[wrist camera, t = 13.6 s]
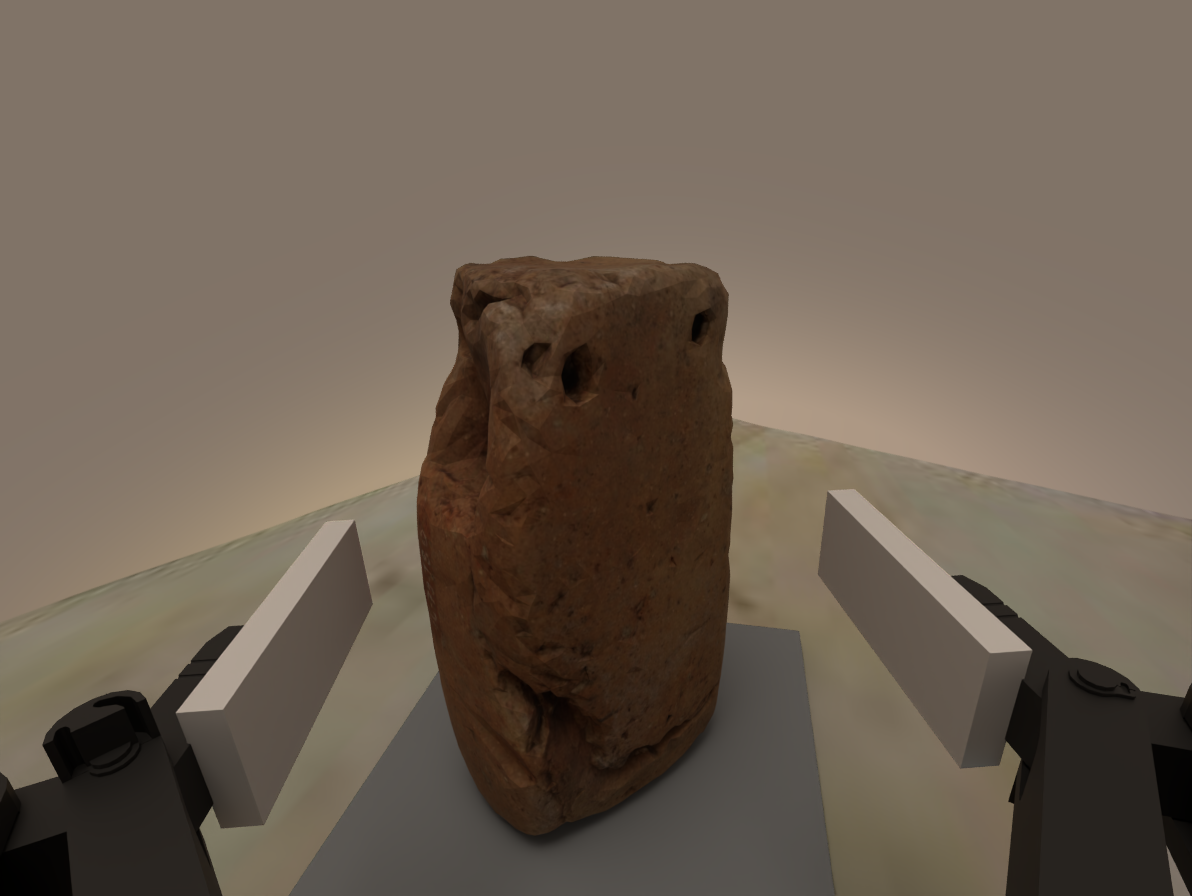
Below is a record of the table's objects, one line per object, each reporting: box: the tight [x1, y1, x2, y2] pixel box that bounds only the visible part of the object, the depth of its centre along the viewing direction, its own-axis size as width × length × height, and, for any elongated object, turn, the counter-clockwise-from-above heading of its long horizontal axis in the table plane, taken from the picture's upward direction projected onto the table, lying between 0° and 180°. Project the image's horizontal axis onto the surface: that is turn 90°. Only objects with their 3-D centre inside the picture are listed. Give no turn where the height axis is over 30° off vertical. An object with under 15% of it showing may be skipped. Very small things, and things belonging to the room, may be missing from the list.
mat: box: [289, 623, 835, 896], centre depth 25 cm, size 18×18×1 cm
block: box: [417, 256, 733, 836], centre depth 22 cm, size 11×8×20 cm
